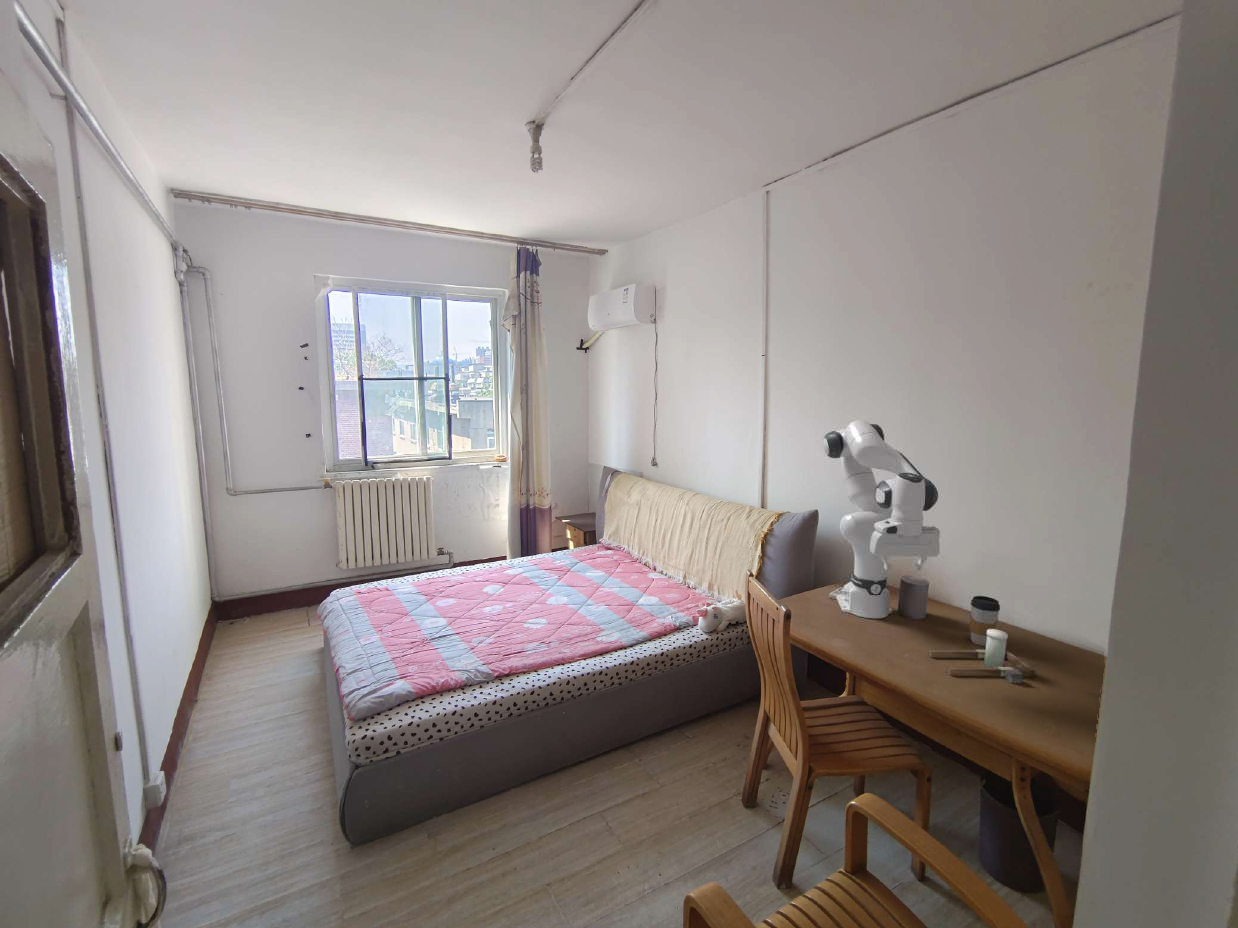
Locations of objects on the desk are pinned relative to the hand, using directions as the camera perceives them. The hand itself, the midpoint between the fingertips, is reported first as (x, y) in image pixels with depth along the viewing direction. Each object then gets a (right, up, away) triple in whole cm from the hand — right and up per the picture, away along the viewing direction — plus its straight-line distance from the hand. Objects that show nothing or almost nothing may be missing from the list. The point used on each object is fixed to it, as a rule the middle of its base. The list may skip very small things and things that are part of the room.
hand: (902, 569), depth 177 cm
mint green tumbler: (+28, -30, -1) cm, 41 cm away
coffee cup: (+34, -28, +15) cm, 46 cm away
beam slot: (+23, -30, -3) cm, 38 cm away
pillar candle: (+22, -24, +38) cm, 50 cm away
